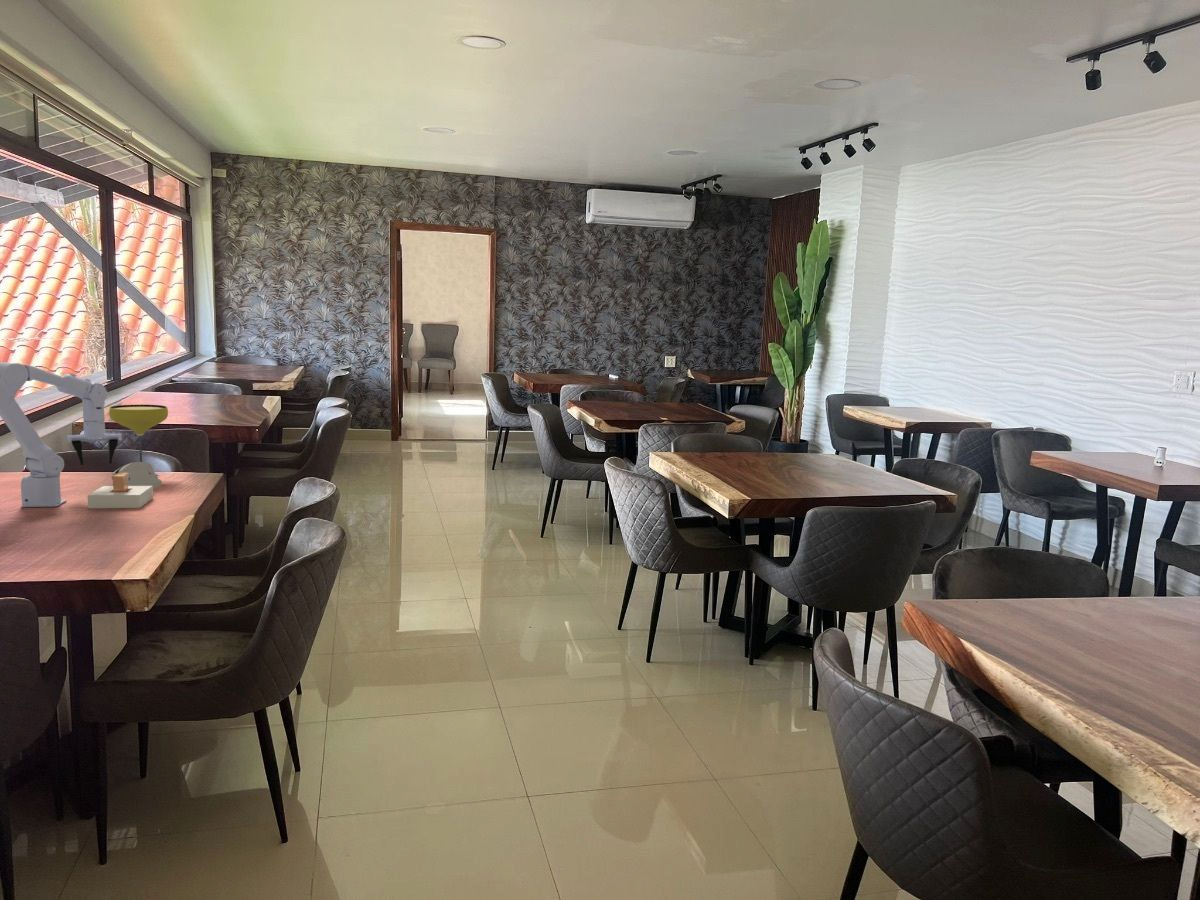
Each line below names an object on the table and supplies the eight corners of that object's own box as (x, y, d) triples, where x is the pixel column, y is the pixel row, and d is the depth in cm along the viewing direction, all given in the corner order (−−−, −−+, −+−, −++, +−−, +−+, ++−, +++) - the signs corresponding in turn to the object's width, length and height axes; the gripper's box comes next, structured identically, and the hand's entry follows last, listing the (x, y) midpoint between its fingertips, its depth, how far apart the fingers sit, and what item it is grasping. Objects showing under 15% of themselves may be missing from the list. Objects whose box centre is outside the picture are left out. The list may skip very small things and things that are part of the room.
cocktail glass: (165, 471, 310) (163, 404, 306) (174, 479, 296) (171, 409, 292) (109, 474, 300) (106, 405, 296) (115, 483, 285) (112, 410, 281)
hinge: (131, 494, 270) (120, 465, 269) (118, 498, 270) (107, 469, 269) (163, 484, 286) (153, 457, 285) (151, 488, 287) (141, 461, 286)
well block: (88, 508, 249) (87, 495, 248) (103, 498, 262) (103, 486, 262) (140, 507, 252) (139, 494, 252) (152, 498, 266) (152, 485, 265)
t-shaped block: (112, 505, 254) (111, 476, 252) (119, 501, 260) (117, 472, 258) (123, 505, 255) (122, 476, 253) (129, 501, 260) (128, 472, 259)
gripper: (67, 423, 254) (69, 467, 256) (121, 421, 263) (123, 464, 265) (66, 420, 260) (68, 463, 262) (119, 419, 268) (121, 460, 270)
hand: (96, 463), depth 264 cm, fingers open, 7 cm apart
